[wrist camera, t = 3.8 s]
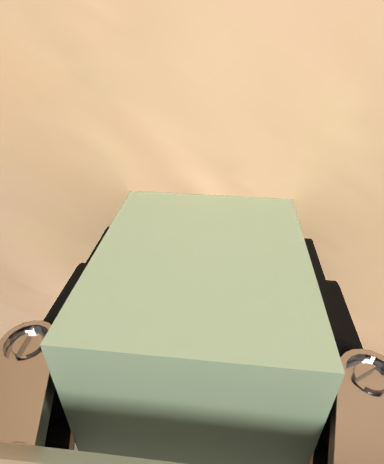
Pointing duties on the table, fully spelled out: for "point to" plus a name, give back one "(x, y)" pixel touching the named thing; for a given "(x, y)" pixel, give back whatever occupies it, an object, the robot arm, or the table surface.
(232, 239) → the sage block
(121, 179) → the table surface
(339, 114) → the table surface
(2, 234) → the table surface
